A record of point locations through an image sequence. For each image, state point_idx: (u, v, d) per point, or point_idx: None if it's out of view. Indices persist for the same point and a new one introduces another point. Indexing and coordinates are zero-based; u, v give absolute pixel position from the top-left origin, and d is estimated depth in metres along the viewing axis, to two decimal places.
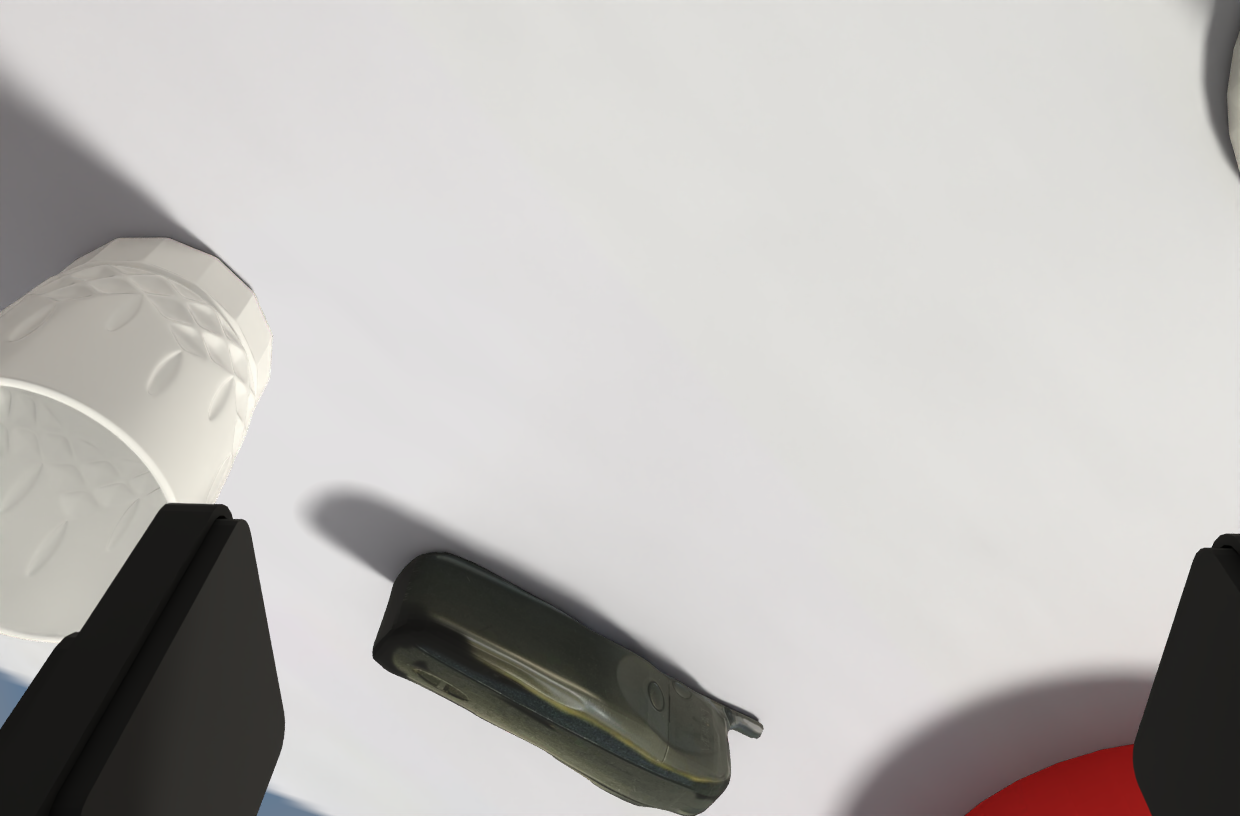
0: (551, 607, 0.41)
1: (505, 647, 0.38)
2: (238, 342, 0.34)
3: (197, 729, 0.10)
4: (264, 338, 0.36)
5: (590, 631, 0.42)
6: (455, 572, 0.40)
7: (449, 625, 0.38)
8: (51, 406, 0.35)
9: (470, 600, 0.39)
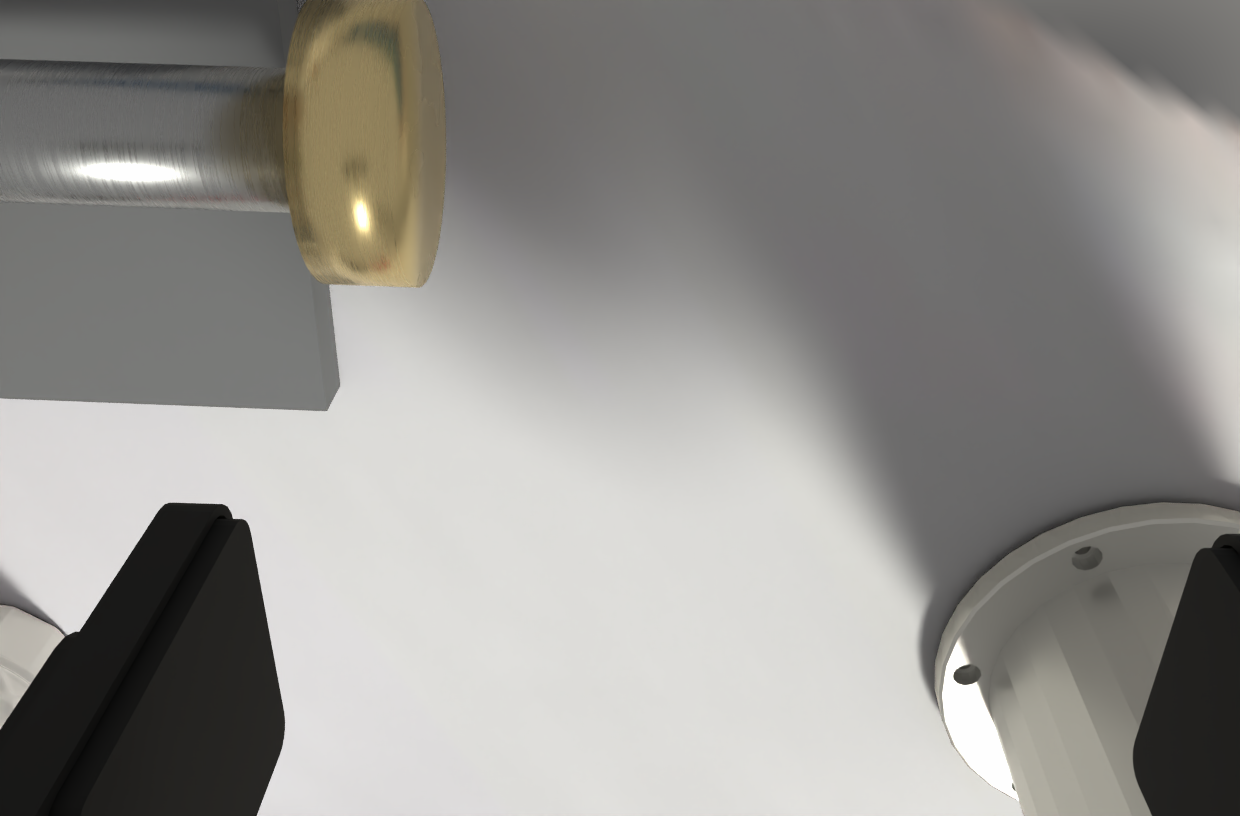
0: None
1: None
2: None
3: (197, 729, 0.10)
4: None
5: None
6: None
7: None
8: None
9: None
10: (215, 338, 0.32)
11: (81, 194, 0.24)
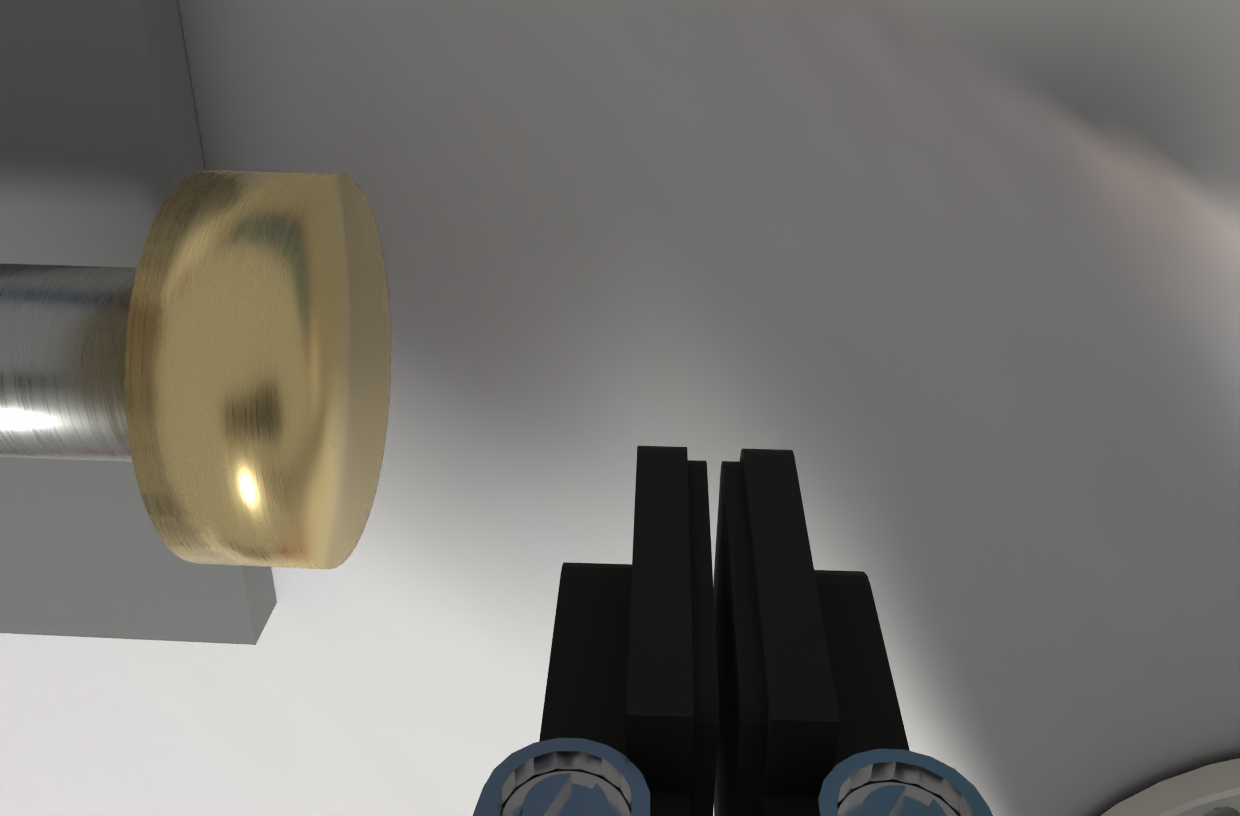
0: None
1: None
2: None
3: None
4: None
5: None
6: None
7: None
8: None
9: None
10: (111, 560, 0.25)
11: None
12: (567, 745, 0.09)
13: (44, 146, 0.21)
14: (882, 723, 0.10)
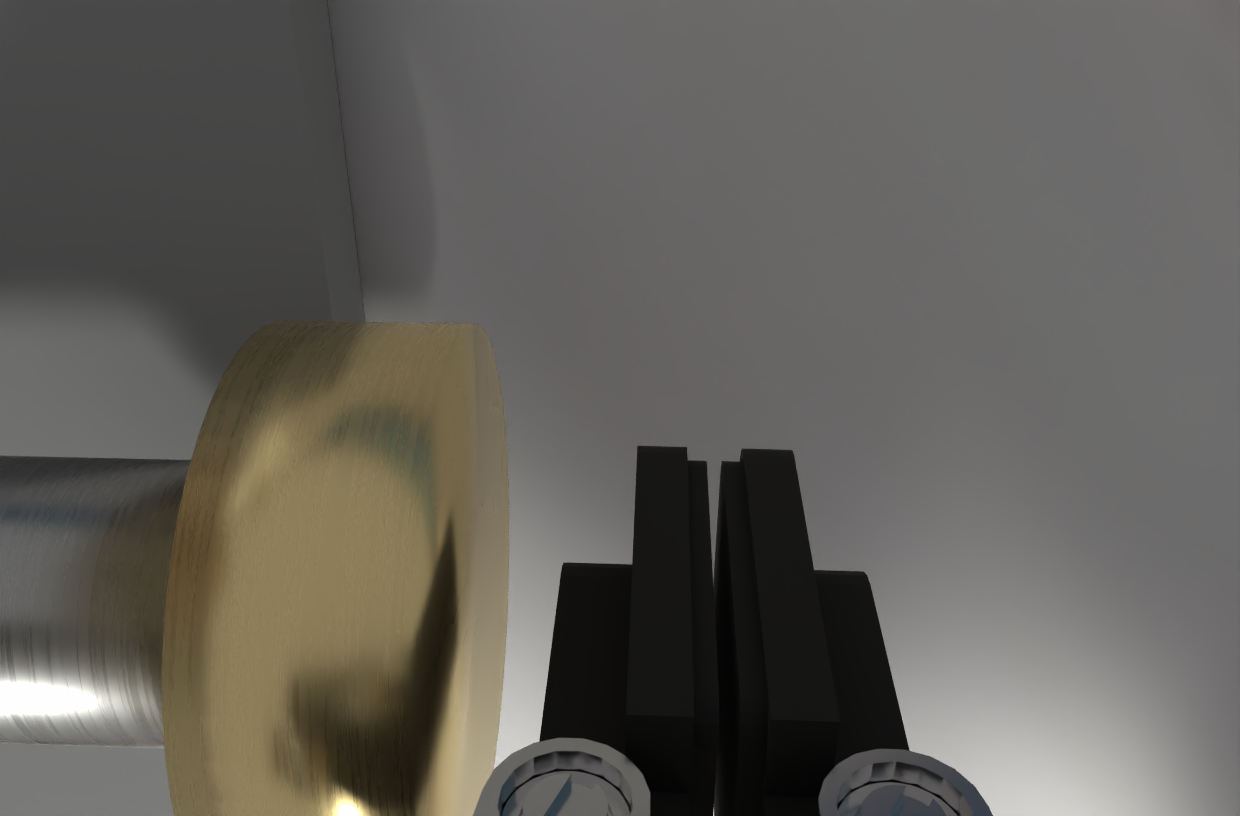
0: None
1: None
2: None
3: None
4: None
5: None
6: None
7: None
8: None
9: None
10: None
11: None
12: (567, 745, 0.09)
13: (153, 259, 0.15)
14: (882, 723, 0.10)
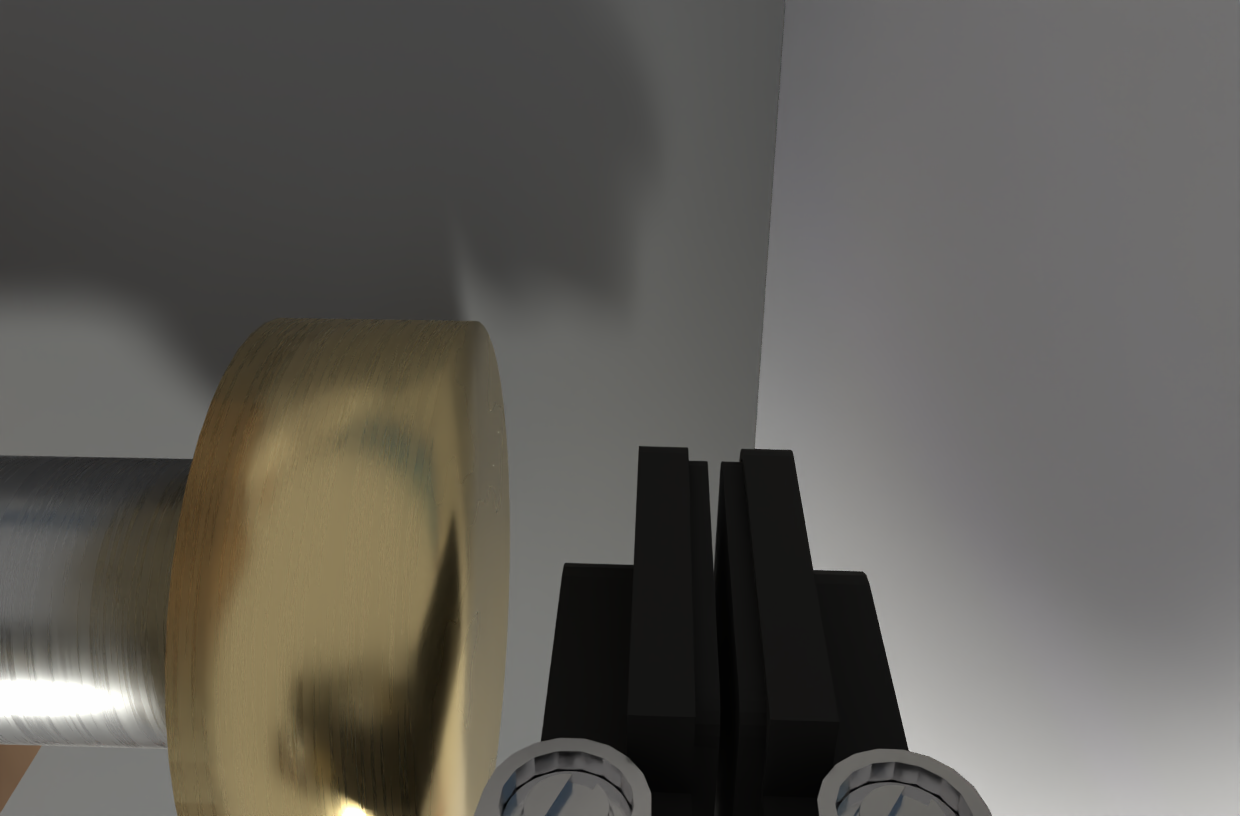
0: None
1: None
2: None
3: None
4: None
5: None
6: None
7: None
8: None
9: None
10: None
11: None
12: (569, 746, 0.09)
13: (590, 262, 0.14)
14: (881, 723, 0.10)
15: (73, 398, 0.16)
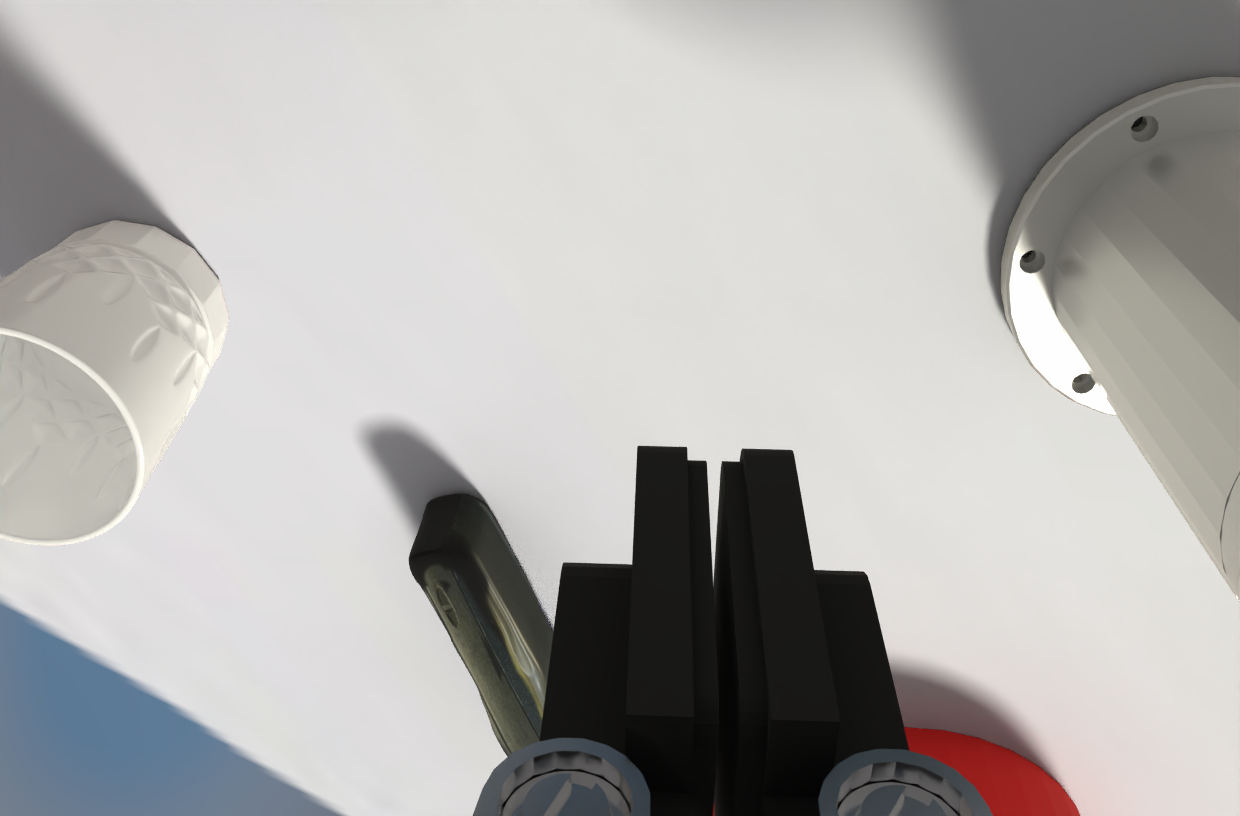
0: (528, 583, 0.49)
1: (504, 603, 0.46)
2: (203, 322, 0.41)
3: None
4: (222, 320, 0.43)
5: (543, 614, 0.50)
6: (488, 524, 0.47)
7: (481, 567, 0.45)
8: (36, 348, 0.42)
9: (493, 552, 0.47)
10: None
11: None
12: (567, 745, 0.09)
13: None
14: (883, 721, 0.10)
15: None
